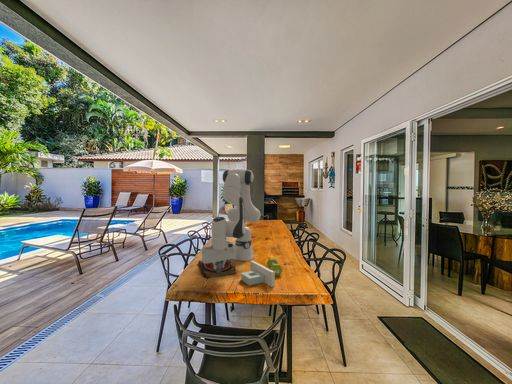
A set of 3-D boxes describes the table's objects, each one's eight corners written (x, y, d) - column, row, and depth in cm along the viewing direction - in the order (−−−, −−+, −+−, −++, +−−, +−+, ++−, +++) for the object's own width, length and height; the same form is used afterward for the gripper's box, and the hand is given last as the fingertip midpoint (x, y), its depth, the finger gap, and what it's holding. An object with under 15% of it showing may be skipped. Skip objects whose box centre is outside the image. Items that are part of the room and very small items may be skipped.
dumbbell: (266, 268, 172) (266, 257, 171) (277, 268, 172) (277, 257, 172) (270, 277, 155) (270, 265, 155) (282, 276, 156) (282, 265, 156)
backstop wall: (250, 273, 160) (250, 261, 160) (253, 273, 161) (253, 260, 161) (271, 286, 140) (271, 272, 140) (274, 286, 141) (274, 271, 141)
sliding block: (241, 279, 149) (241, 273, 149) (255, 276, 154) (255, 270, 154) (249, 285, 141) (249, 278, 140) (264, 282, 146) (264, 275, 146)
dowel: (215, 273, 149) (215, 261, 149) (220, 272, 151) (220, 260, 150) (217, 274, 147) (217, 262, 146) (222, 273, 148) (222, 261, 148)
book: (198, 265, 179) (198, 258, 179) (227, 261, 187) (227, 255, 186) (203, 279, 153) (203, 271, 153) (237, 274, 160) (237, 266, 160)
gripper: (204, 248, 140) (204, 273, 140) (236, 243, 151) (236, 266, 151) (200, 246, 145) (200, 269, 146) (231, 241, 156) (231, 263, 157)
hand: (218, 268), depth 149 cm, fingers closed on dowel, 3 cm apart
